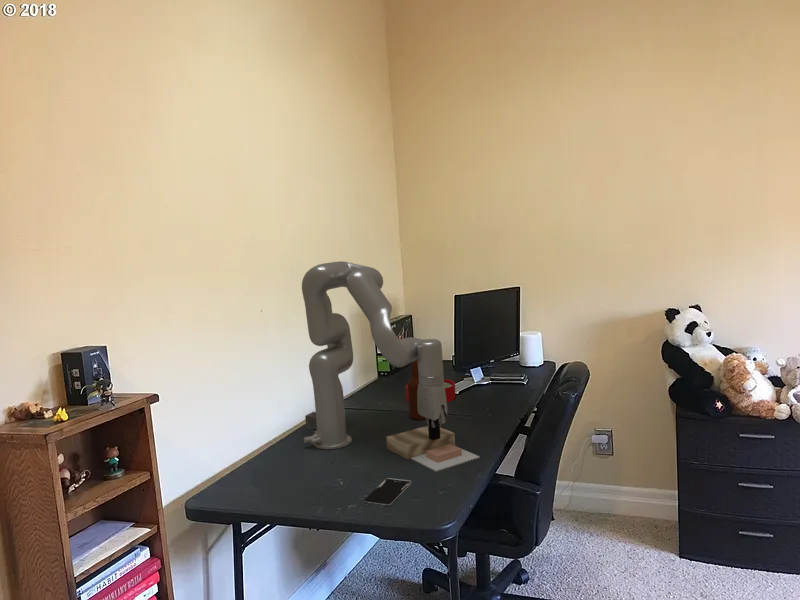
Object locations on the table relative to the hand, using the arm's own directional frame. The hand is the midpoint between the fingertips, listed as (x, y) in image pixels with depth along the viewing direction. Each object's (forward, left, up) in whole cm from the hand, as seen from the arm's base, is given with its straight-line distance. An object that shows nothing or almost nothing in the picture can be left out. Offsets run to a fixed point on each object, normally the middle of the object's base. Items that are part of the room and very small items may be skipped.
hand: (434, 438), depth 192 cm
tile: (0, -4, -3) cm, 5 cm away
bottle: (+17, +34, -5) cm, 38 cm away
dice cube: (-17, +51, -5) cm, 54 cm away
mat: (0, -5, -5) cm, 7 cm away
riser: (0, +8, -5) cm, 9 cm away
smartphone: (-26, -15, -6) cm, 31 cm away
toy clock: (+35, +53, -5) cm, 63 cm away
